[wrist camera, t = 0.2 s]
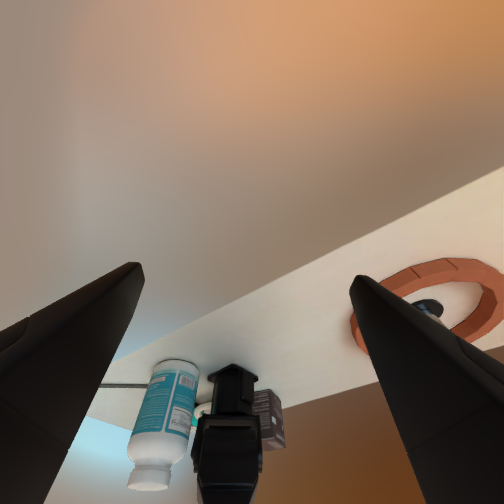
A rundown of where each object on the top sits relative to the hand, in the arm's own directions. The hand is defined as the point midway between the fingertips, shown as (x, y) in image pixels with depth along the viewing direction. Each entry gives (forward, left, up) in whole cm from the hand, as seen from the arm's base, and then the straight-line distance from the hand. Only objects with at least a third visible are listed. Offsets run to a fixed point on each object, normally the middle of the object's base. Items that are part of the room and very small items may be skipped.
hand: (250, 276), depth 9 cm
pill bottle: (-30, -14, -12) cm, 35 cm away
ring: (+5, -27, -12) cm, 30 cm away
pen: (-37, -15, -12) cm, 42 cm away
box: (-27, -32, -12) cm, 44 cm away
